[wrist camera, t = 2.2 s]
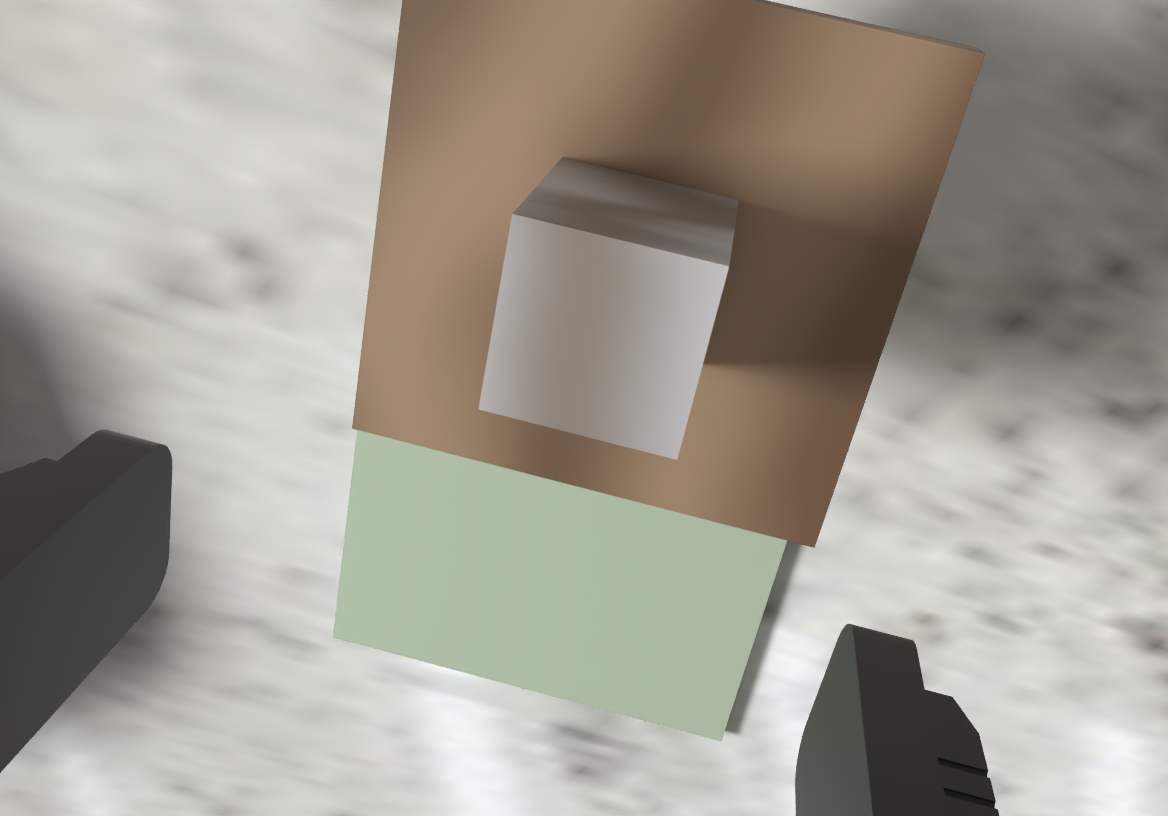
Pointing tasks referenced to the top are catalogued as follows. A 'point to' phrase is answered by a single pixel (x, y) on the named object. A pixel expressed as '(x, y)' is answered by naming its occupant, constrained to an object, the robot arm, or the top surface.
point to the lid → (651, 242)
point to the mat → (550, 585)
